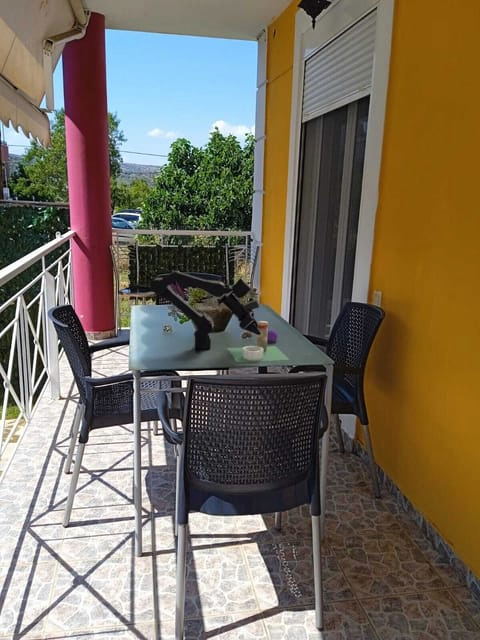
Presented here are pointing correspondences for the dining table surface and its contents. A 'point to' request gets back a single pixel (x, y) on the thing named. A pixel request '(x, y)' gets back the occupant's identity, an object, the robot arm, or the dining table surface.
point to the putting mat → (269, 355)
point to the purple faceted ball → (271, 336)
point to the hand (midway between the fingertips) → (259, 331)
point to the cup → (252, 352)
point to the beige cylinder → (262, 335)
